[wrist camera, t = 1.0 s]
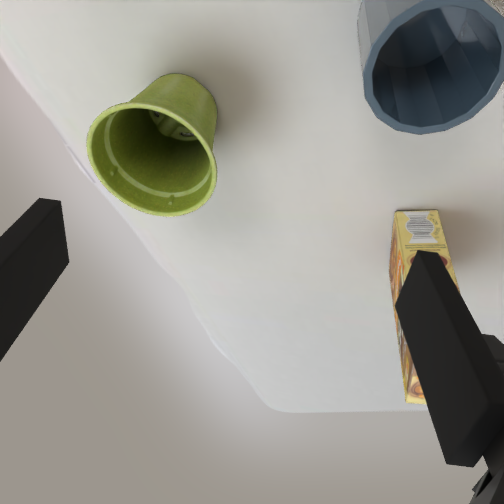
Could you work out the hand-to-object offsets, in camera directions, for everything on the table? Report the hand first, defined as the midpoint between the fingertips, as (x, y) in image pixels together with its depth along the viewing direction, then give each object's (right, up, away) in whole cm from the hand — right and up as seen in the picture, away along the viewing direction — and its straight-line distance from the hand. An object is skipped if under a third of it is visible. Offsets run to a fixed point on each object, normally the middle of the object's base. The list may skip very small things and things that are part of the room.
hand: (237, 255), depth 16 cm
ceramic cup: (+12, +16, +13) cm, 24 cm away
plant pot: (-5, +12, +21) cm, 25 cm away
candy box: (+17, +1, +28) cm, 33 cm away
